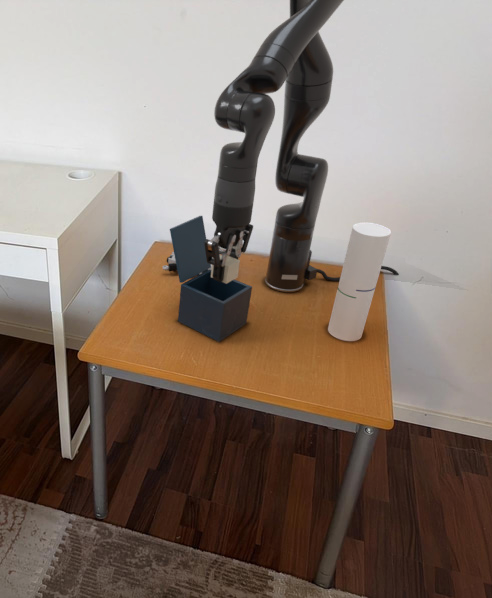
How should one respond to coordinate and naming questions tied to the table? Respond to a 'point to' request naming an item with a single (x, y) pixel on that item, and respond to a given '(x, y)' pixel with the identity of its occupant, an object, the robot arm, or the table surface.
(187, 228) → the lid
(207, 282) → the caddy
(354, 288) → the cylindrical container
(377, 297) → the table surface
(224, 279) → the block
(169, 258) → the robot toy
